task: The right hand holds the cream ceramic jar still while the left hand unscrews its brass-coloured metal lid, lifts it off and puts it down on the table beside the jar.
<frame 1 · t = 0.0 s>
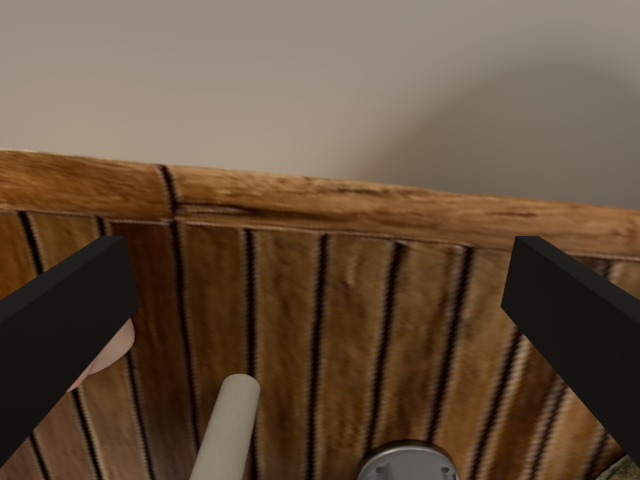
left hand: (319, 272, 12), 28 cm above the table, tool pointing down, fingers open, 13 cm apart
fossil: (617, 478, 57), on the table
jar: (240, 389, 50), on the table
anatomical model: (89, 329, 47), on the table
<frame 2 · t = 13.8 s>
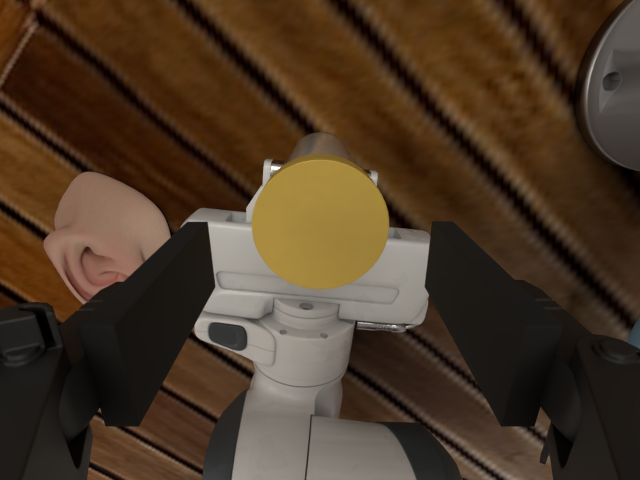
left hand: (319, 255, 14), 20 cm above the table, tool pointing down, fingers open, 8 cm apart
lid: (320, 226, 17), point 17 cm above the table, screwed on, not yet turned
jar: (320, 163, 33), on the table, touching right hand
anatomical model: (118, 242, 35), on the table
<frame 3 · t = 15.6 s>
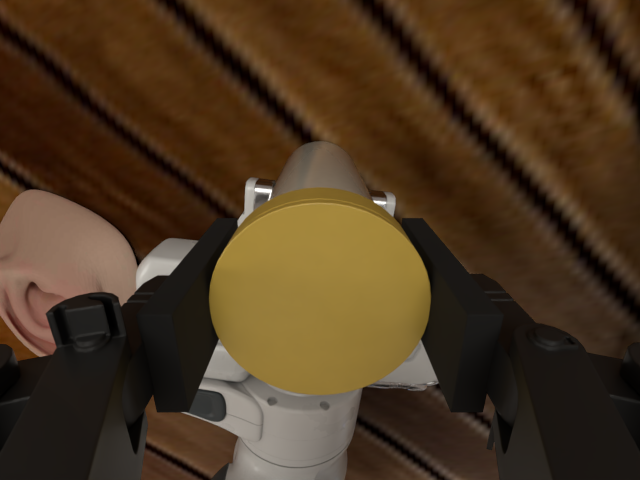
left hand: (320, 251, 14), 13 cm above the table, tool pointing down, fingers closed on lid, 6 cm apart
lid: (320, 303, 11), point 17 cm above the table, screwed on, not yet turned, touching left hand
jar: (319, 179, 26), on the table, touching right hand
anatomical model: (74, 273, 29), on the table
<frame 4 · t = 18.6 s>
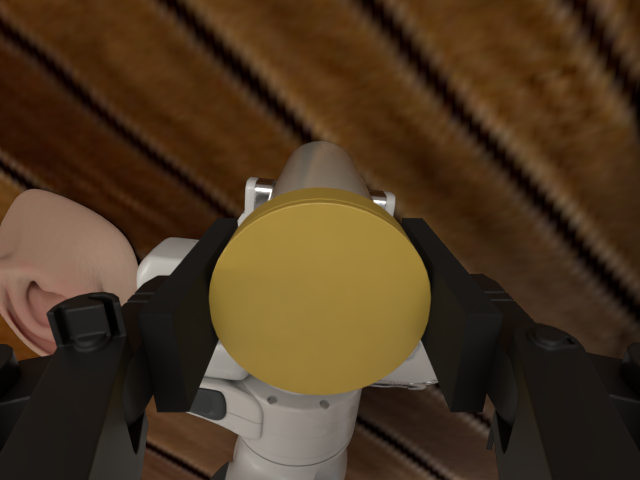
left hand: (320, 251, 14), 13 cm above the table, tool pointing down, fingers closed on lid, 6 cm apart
lid: (319, 303, 11), point 17 cm above the table, turned 90° so far, risen 0.1 cm, still on its thread, touching left hand
jar: (319, 179, 26), on the table, touching right hand
anatomical model: (75, 273, 29), on the table
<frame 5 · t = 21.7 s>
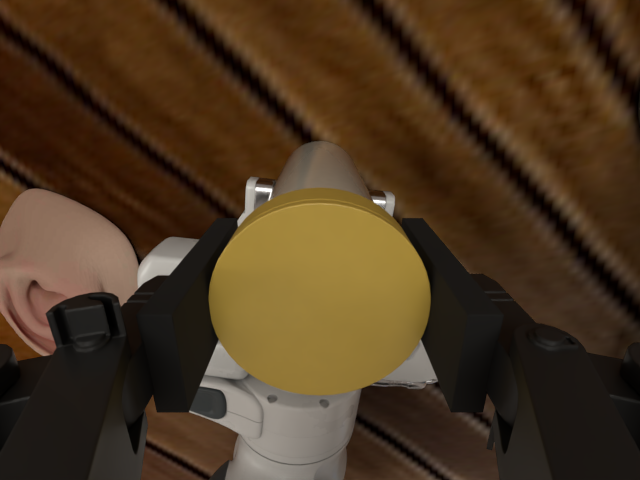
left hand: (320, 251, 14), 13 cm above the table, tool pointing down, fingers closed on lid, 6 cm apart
lid: (319, 303, 11), point 17 cm above the table, turned 179° so far, risen 0.2 cm, still on its thread, touching left hand
jar: (319, 179, 27), on the table, touching right hand
anatomical model: (75, 272, 29), on the table
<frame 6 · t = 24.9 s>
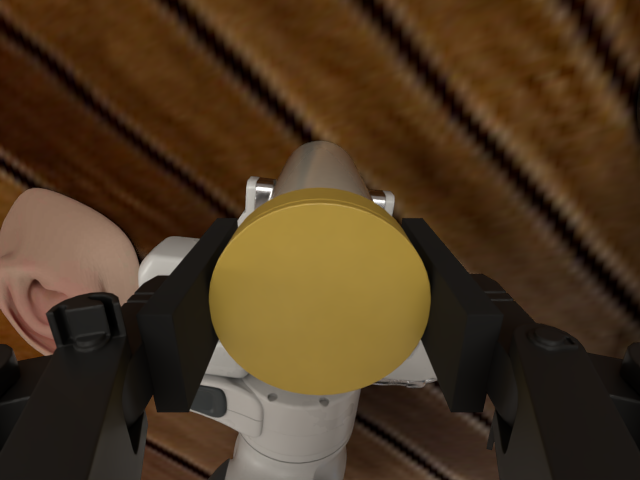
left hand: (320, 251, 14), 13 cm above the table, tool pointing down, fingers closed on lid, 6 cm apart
lid: (319, 303, 11), point 17 cm above the table, turned 269° so far, risen 0.3 cm, still on its thread, touching left hand
jar: (320, 178, 27), on the table, touching right hand
anatomical model: (76, 271, 29), on the table
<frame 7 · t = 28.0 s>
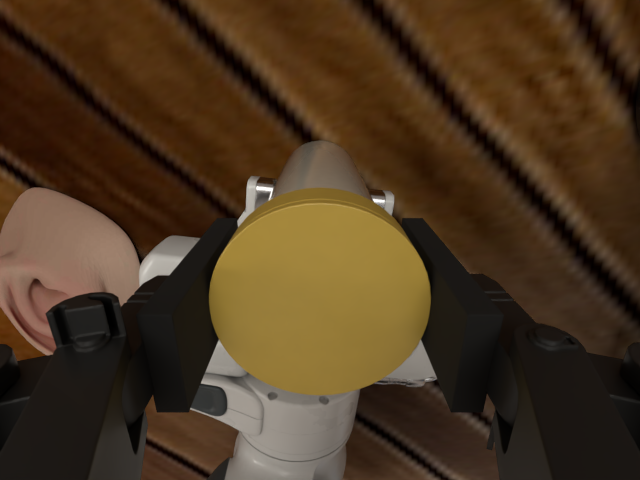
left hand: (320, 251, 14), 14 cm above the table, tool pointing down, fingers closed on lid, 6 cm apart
lid: (319, 303, 11), point 17 cm above the table, turned 359° so far, risen 0.4 cm, still on its thread, touching left hand
jar: (320, 178, 27), on the table, touching right hand
anatomical model: (77, 271, 30), on the table
when the left hand's fingers open (0 cm above the table, at t = 35.0 s): lid drops 1 cm, point 1 cm above the table.
when the right hand's fingers open (6 cm above the table, at t = 35.7 s): jar stays where it is, on the table.
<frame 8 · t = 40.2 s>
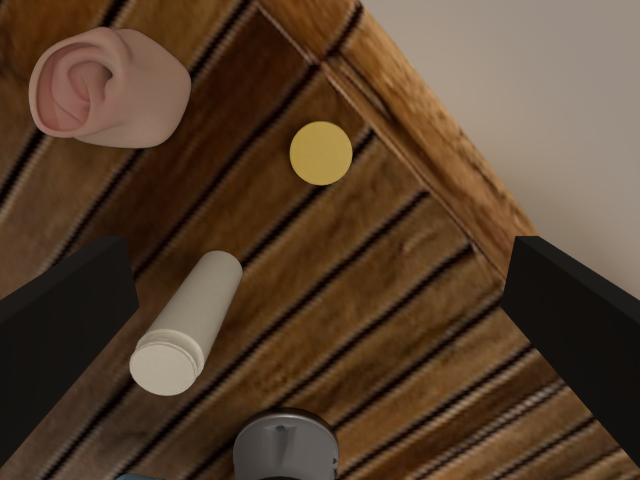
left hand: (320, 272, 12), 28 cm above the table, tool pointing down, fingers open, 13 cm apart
lid: (320, 154, 37), point 1 cm above the table, off its thread
jar: (219, 271, 43), on the table
anatomical model: (122, 92, 36), on the table
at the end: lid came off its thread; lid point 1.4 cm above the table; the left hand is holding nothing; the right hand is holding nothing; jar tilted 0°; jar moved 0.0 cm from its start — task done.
